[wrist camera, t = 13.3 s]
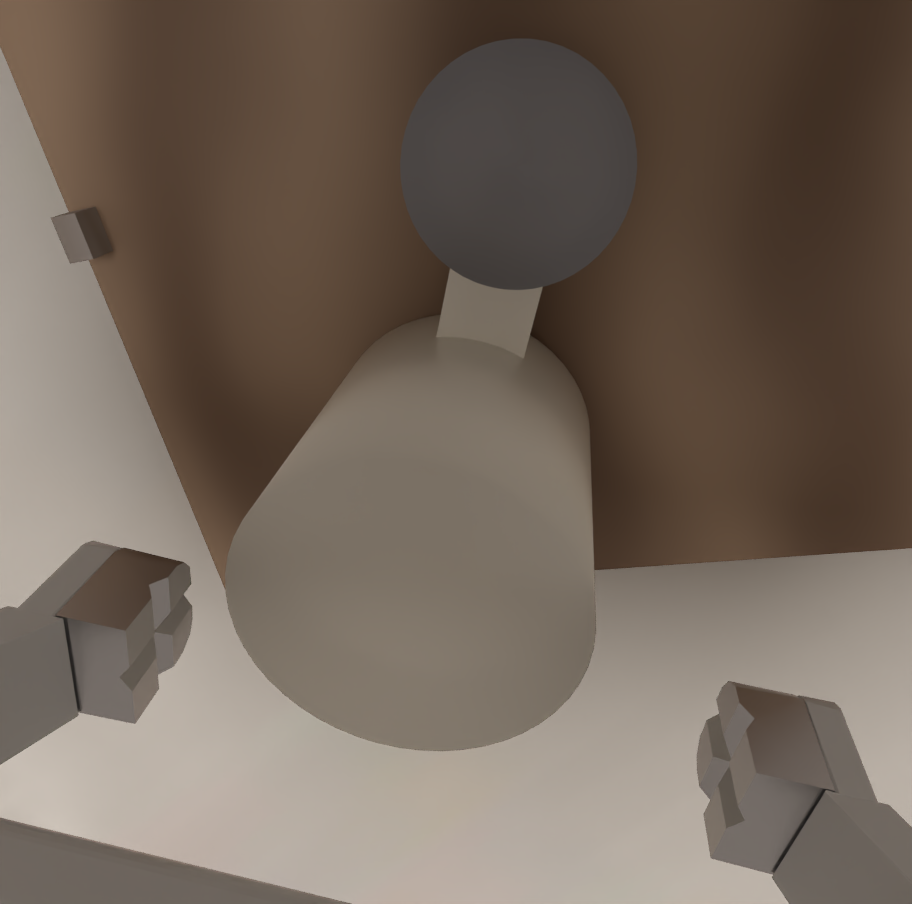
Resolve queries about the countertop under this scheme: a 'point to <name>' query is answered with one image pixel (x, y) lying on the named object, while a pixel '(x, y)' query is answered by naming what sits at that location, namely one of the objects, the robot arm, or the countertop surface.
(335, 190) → the wooden cutting board
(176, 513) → the countertop surface
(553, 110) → the lever
